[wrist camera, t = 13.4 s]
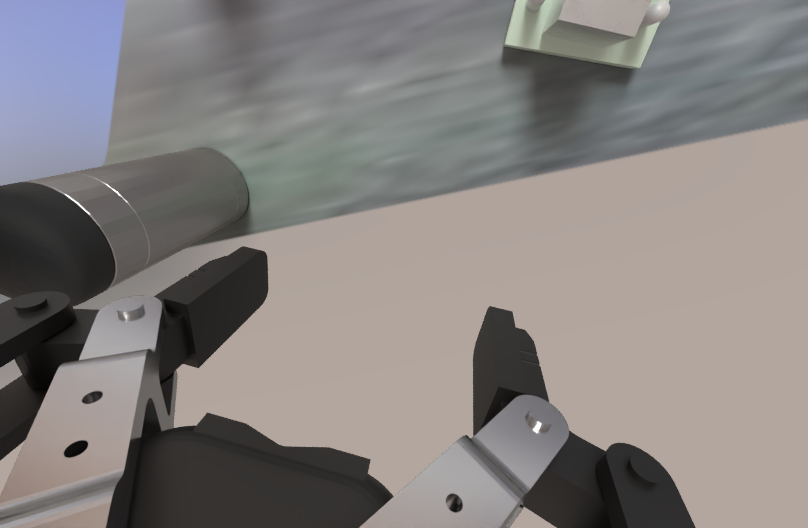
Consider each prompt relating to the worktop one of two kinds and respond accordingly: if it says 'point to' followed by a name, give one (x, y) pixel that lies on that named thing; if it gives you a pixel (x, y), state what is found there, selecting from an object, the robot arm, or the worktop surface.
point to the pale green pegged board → (630, 53)
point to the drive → (595, 20)
